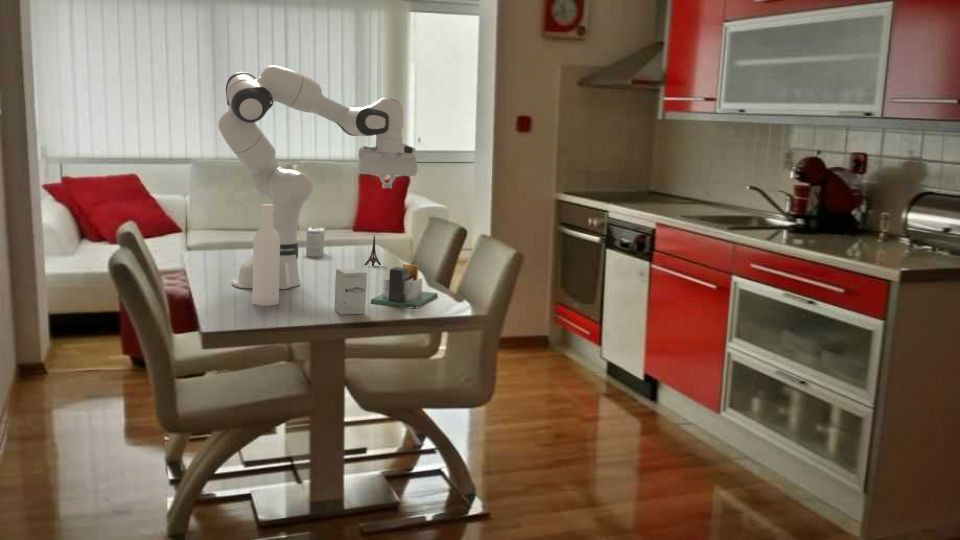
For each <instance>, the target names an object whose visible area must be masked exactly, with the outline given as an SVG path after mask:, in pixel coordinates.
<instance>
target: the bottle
mask: <svg viewBox="0 0 960 540" xmlns="http://www.w3.org/2000/svg"><path fill="white" fill-rule="evenodd" d="M272 204H273V203H272ZM272 204H270V203H262V204H261V205H260V206H261V208H260V212H261V218H260V228H259V229H258V230H256V231H255V233H254V237H253V246H252V247H253V251H252V252H253V288H252V294H251V298H252V299H251V301H252V302H251V304H252V305H255V306H260V307H271V306H273V307H274V306H277V305H279V300H280V289H279V264H280V238H279V234H278V232H277V231H276V230H275V229H274V228H273V221H274V205H272Z"/></svg>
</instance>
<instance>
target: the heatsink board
mask: <svg viewBox="0 0 960 540" xmlns="http://www.w3.org/2000/svg"><path fill="white" fill-rule="evenodd" d="M407 272H408V268H403V267H400V266H395V267H393V268H390V269H389V277H387V278H385V279H384V280H383V291H382V294H379V295H377V296H375V297H373V298H371V299H370V303H371V304H377V305H386V306H392V305H393V306H394V307H400V306H404V307H403V308H408V307H413V308H412V309H417V308H416V307H418V306H419V307H421V306H423V305H425V304H427V303H429V302H430V300H431V301H433V300H434V299H436V298H437V297H438V295H439V294H438V293H437V292H430V291H423V278H421V277H420V278H418V279H417V280H415V281H414V278H412V277H411V278H409V279H407V280H405V279H404V276H405V275H407ZM435 297H436V298H435ZM433 298H434V299H433ZM428 301H429V302H428ZM426 302H427V303H426ZM424 303H425V304H424ZM422 304H423V305H422ZM420 305H421V306H420ZM419 307H418V308H419Z"/></svg>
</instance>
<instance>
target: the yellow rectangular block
mask: <svg viewBox="0 0 960 540" xmlns="http://www.w3.org/2000/svg"><path fill="white" fill-rule="evenodd" d="M402 268H408V272H407V275H405V276H404V279H405V280H407V279H409V278H411V277H412V278H414V281H415V280H417V279H419V264H417V265H416V264H409V263H403V264H402Z"/></svg>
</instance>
